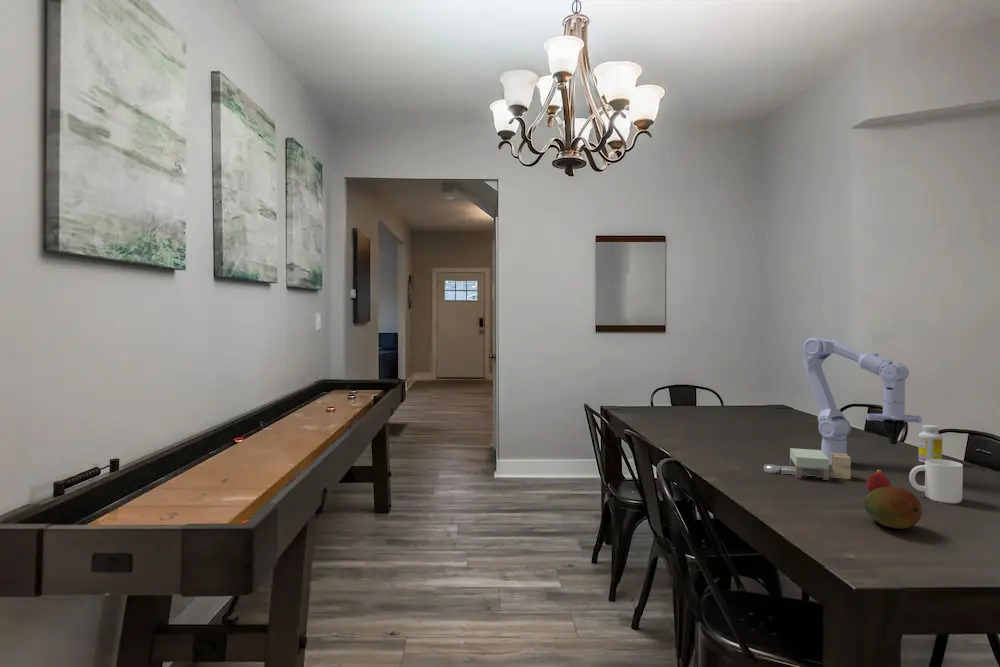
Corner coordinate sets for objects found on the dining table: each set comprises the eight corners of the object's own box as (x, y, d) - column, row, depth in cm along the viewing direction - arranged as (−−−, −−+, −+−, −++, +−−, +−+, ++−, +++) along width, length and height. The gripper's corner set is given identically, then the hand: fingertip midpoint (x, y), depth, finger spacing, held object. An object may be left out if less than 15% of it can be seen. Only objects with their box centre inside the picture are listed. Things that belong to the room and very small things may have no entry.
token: (762, 469, 192) (762, 463, 192) (779, 471, 190) (779, 465, 190) (764, 473, 187) (764, 467, 187) (781, 475, 186) (781, 468, 186)
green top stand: (789, 468, 193) (790, 448, 193) (819, 470, 190) (820, 450, 190) (796, 478, 181) (796, 457, 180) (828, 481, 178) (829, 459, 178)
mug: (911, 499, 160) (911, 462, 160) (906, 491, 167) (907, 456, 167) (965, 505, 154) (966, 467, 154) (958, 497, 162) (959, 461, 161)
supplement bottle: (943, 462, 200) (943, 425, 200) (940, 466, 195) (941, 428, 195) (919, 459, 205) (920, 423, 204) (916, 462, 200) (917, 426, 200)
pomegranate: (883, 502, 157) (883, 473, 157) (861, 496, 162) (862, 468, 162) (895, 499, 160) (895, 471, 160) (873, 493, 165) (874, 466, 165)
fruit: (901, 539, 132) (901, 496, 131) (848, 521, 143) (849, 481, 143) (932, 531, 136) (933, 489, 136) (879, 514, 148) (879, 476, 147)
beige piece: (779, 470, 190) (779, 449, 190) (846, 475, 184) (846, 454, 184) (781, 474, 186) (781, 453, 185) (850, 479, 179) (850, 457, 179)
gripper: (871, 402, 181) (870, 444, 181) (925, 404, 176) (924, 448, 177) (864, 399, 188) (864, 440, 188) (917, 401, 183) (916, 443, 183)
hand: (893, 443), depth 183 cm, fingers closed
